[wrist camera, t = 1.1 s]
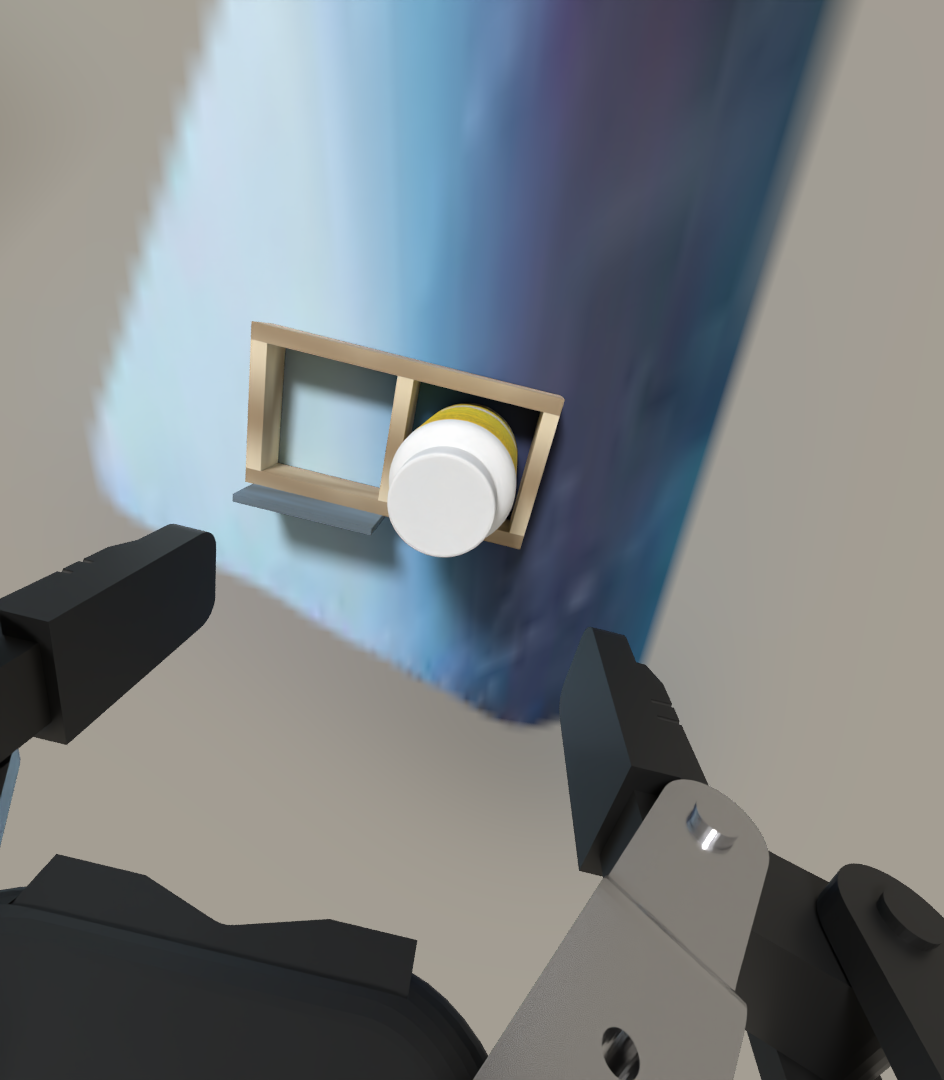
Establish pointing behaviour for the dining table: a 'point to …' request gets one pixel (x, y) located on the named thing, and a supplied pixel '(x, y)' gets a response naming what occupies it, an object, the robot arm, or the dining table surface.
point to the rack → (367, 503)
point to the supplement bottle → (453, 480)
